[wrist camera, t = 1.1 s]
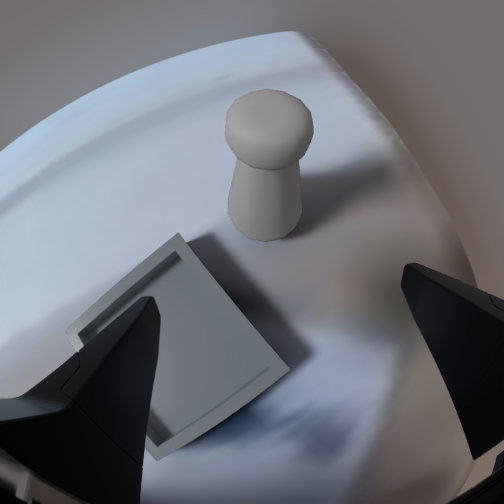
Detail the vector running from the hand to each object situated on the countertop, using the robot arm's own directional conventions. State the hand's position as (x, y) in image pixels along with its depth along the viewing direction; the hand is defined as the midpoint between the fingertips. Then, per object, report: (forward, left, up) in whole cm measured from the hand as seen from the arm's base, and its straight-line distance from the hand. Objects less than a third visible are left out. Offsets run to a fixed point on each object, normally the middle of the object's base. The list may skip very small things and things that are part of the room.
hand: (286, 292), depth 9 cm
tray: (+2, +8, -13) cm, 16 cm away
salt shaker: (+6, -5, -13) cm, 16 cm away
